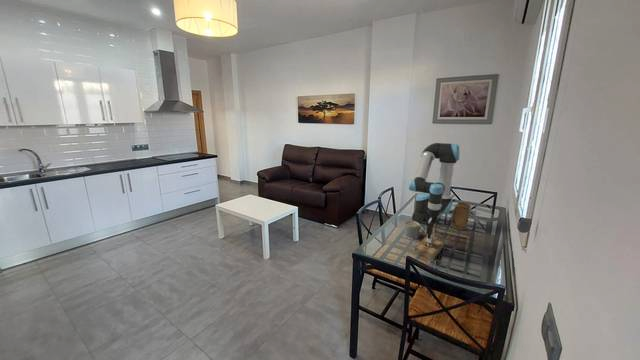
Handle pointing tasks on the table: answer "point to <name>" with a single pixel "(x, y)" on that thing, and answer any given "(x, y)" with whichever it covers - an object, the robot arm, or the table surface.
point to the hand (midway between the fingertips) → (430, 240)
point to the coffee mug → (412, 229)
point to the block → (460, 216)
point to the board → (429, 248)
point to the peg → (432, 237)
